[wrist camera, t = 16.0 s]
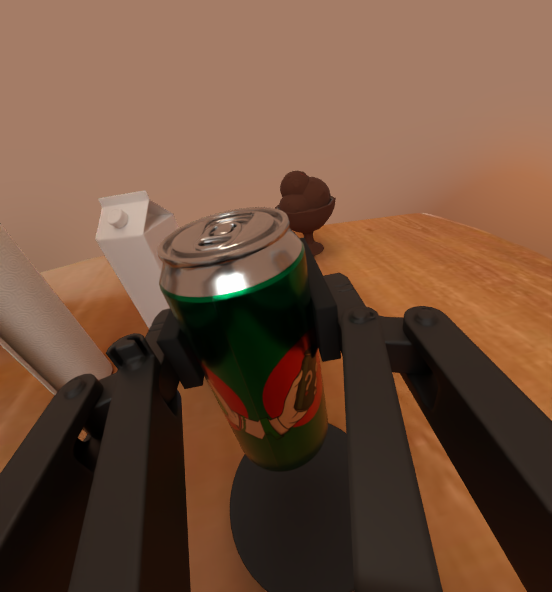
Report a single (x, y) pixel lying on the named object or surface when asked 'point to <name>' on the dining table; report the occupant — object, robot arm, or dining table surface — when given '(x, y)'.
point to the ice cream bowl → (306, 205)
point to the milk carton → (136, 247)
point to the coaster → (296, 521)
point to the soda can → (251, 329)
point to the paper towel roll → (42, 324)
